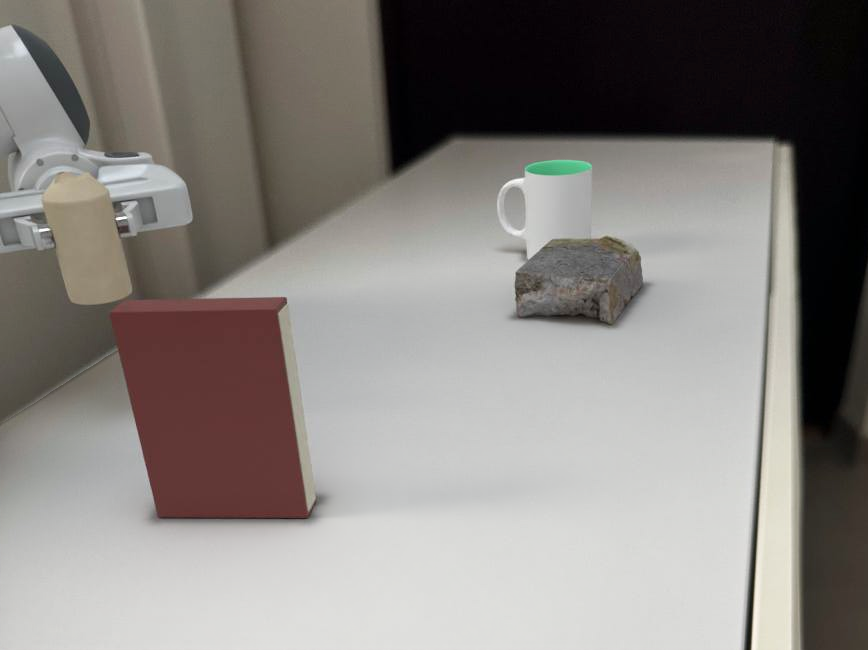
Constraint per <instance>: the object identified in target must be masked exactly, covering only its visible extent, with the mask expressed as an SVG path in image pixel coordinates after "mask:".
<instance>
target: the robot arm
mask: <svg viewBox="0 0 868 650" xmlns="http://www.w3.org/2000/svg"><path fill="white" fill-rule="evenodd" d="M90 129H91V120H90V117H89V114H88V111H87V108H86V106H85V103H84V101H83V99H82V96H81V94H80V92H79V90H78V88H77V86H76V83H74V81H73V78H72V77H71V75H70V74H69V72H68V70H67V68H66V67H65V65H64V64H63V62H62V61H61V59H60V58H59V56H58V55H57V53H55V51H54V49H53V48H52V47H51V46H50V45H49V43H48V42H47V41H46V40H44V39H43V38H42V37H40V36H38V35H37V34H35V33H34V32H33V31H30V30H29V29H27V28H25V27H22V26H20V25H17V24H13V23H11V24H9V25H6V26H3V27H0V159H1V158H4V157H7V156H8V160H7V179H8V183H9V187H10V190H11V191H7V192H1V193H0V255H1V254H8V253H14V252H20V251H26V250H33V249H36V250H37V251H38V252H41V251H48V250H55V248H56V247H55V243H54V240H53V239H52V236H53V235H52V232H51V229H50V227H49V226H48V222H47V218H46V215H45V211H44V208H43V204H42V200H41V197H42V195H43V193H44V192H45V190H46V189H47V188H48V187H49V186H50V184H51V183H52V182H53V180H54V179H55V177H56V176H58V175H59V174H61V173H65V172H66V173H71V174H73V175H76V176H80V175H82V174H84V173H87V172H88V173H89V174H90V175H91V176H92V177H94V178H95V179H96V180H97V181H99V182H100V183H101V184H102V185H104V186H105V187H106V188H107V189H108V190H109V193H110V197H111V202H112V206H113V210H114V214H115V219H116V223H117V226H118V231H119V236H120V239H123V238H124V239H125V238H131V237H137V236H138V233H143V232H149V231H156V230H161V229H162V230H163V229H169V228H174V227H175V228H176V227H183V226H187V225H189V224H190V223H192V222H193V218H194V215H193V211H192V204H191V199H190V194H189V190H188V186H187V184H186V182H185V180H184V179H183V178H182V177H181V176H180V175H178V173H176V172H175V171H173V170H172V169H170V167H169V168H168V166H165V165H162V164H158V163H155V161H154V158H153V155H152V154H150V153H149V152H145V151H140V152H139V151H138V152H136V151H125V152H123V151H122V152H115V151H113V152H112V151H108V152H107V151H106V152H104V151H97V150H92V149H87V148H86V147H85V146H87V145H88V141H89V138H90V132H91V131H90Z"/></svg>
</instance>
